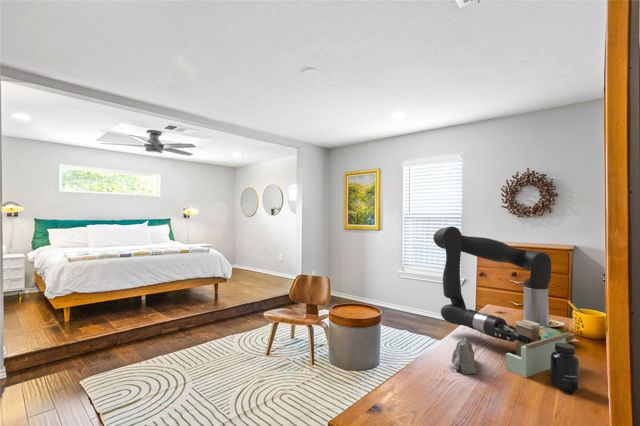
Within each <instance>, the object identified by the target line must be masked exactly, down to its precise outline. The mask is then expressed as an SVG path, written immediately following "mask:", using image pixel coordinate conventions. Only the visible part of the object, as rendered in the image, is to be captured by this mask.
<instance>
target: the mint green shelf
mask: <svg viewBox="0 0 640 426" xmlns="http://www.w3.org/2000/svg"><path fill="white" fill-rule="evenodd" d="M568 333H569V332H566V333H564V334H560V335H557V336H553V337H550V338H546V339H543V340H539V341H536V342H533V343H529V344H526V345H525V346H521V357H519V356H516V354H513V353H511V352H507V353H505V370H507V371H509V372H512V373H514V374H516V375H519V376H520V377H523V378H528V377H531V376H534V375H537V374H540V373H542V372H545V371H548V370H550V364H551V354H552V352H554V351H555V343H558V342H559V343H566V338H567V337H568Z"/></svg>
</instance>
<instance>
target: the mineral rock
mask: <svg viewBox="0 0 640 426" xmlns="http://www.w3.org/2000/svg"><path fill="white" fill-rule="evenodd" d="M451 362H452V364H453V366H454V370H455V371H456V372H458V373H463V374H465V375H474V374H475V373H476V372H477V371H476V361H475V351H474V349H473V345H472V344H471V343H470V341H469V340H468V339H467V337H466V336H464V337H463V338H461V339H459V341H457V343H456V346H455V349H453V352H452V357H451Z"/></svg>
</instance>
